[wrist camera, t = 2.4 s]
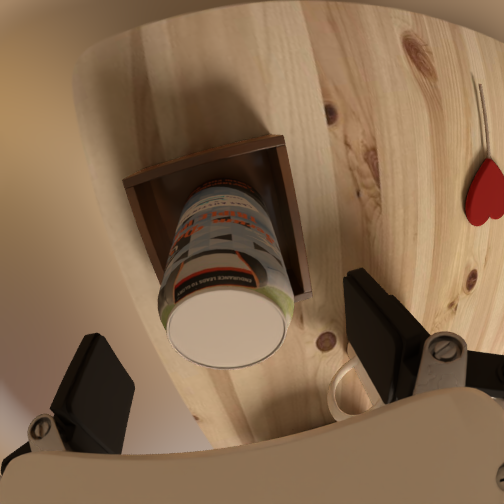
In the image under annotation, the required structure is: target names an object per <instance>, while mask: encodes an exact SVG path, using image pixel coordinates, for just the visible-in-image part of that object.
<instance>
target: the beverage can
mask: <svg viewBox="0 0 504 504" xmlns="http://www.w3.org/2000/svg"><path fill="white" fill-rule="evenodd" d="M293 311H294V295H293V291H292V288H291V285H290V281H289V278H288V275H287V272H286V268H285V265H284V262H283V258H282V255H281V252H280V249H279V246H278V242H277V239H276V236H275V233H274V230H273V226H272V223H271V220H270V217H269V214H268V211H267V208H266V205H265V202H264V200H263V198H262V197H261V195H260V194H259V193H258V192H257V191H256V190H255V189H254V188H253V187H252V186H250V185H249V184H247V183H245V182H243V181H240V180H237V179H231V178H218V179H213V180H210V181H207V182H205V183H203V184H201V185H200V186H198V187H197V188H196V189H194V190H193V191H192V192H191V194H190V195H189V196H188V198H187V199H186V201H185V203H184V206H183V209H182V213H181V216H180V219H179V222H178V226H177V229H176V232H175V236H174V239H173V243H172V246H171V250H170V253H169V257H168V261H167V264H166V268H165V272H164V275H163V279H162V283H161V287H160V291H159V295H158V312H159V316H160V320H161V322H162V324H163V326H164V328H165V330H166V333H167V337H168V340H169V342H170V344H171V346H172V347H173V348H174V350H175V351H176V352H177V353H178V354H179V355H181V356H182V357H183V358H185V359H186V360H188V361H190V362H192V363H194V364H196V365H199V366H202V367H206V368H211V369H218V370H235V369H242V368H246V367H250V366H253V365H256V364H258V363H261V362H262V361H264V360H266V359H268V358H269V357H271V356H272V355H273V354H274V353H275V352H276V351H277V350H278V349H279V348H280V347H281V345H282V344H283V342H284V340H285V337H286V333H287V328H288V326H289V324H290V321H291V319H292V316H293Z"/></svg>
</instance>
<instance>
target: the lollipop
mask: <svg viewBox="0 0 504 504" xmlns="http://www.w3.org/2000/svg"><path fill="white" fill-rule="evenodd" d="M479 90H480V95H481V101H482V108H483V115H484V123H485V132H486V143H487V158H486V159H485V161H484V162H483V164H482V165H481V167H480V168H479V170H478V172H477V173H476V175H475V177H474V179H473V181H472V184H471V186H470V189H469V192H468V195H467V199H466V216H467V219H468V221H469V222H470V223H471V224H472V225H474V226H481V225H483V224H484V223H485V222H486V221H487V220H488V218H489V217H490V218H492V219H499V218H501V217H502V216H503V214H504V175H503V174H502V172H501V170H500V169H499V167H498V166H497V165H496V164H495V162H494V161H493V160H492V159H491V158H490V145H489V133H488V123H487V115H486V108H485V101H484V95H483V90H482V84H479Z"/></svg>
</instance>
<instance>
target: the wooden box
mask: <svg viewBox="0 0 504 504" xmlns="http://www.w3.org/2000/svg"><path fill="white" fill-rule="evenodd" d="M218 178H231V179H237V180H240V181H243V182H245V183H247V184H249V185H250V186H252V187H253V188H254V189H255V190H256V191H257V192H258V193H259V194H260V195H261V197H262V198H263V200H264V202H265V205H266V208H267V211H268V214H269V217H270V220H271V223H272V226H273V230H274V233H275V236H276V239H277V242H278V246H279V249H280V252H281V255H282V258H283V262H284V265H285V268H286V272H287V275H288V278H289V281H290V285H291V288H292V291H293V295H294V303H295V302H298V301H302V300H306V299H309V298H312V297H313V295H312V288H311V281H310V275H309V268H308V262H307V256H306V250H305V244H304V238H303V232H302V226H301V221H300V215H299V210H298V204H297V199H296V194H295V189H294V184H293V179H292V174H291V169H290V164H289V159H288V154H287V150H286V146H285V140H284V136H283V135H272V134H270V135H265V136H261V137H256V138H252V139H247V140H243V141H239V142H235V143H231V144H227V145H223V146H219V147H215V148H211V149H207V150H204V151H200V152H197V153H193V154H190V155H186V156H183V157H180V158H176V159H173V160H170V161H167V162H163V163H160V164H157V165H154V166H151V167H148V168H145V169H142V170H140V171H138V172H136V173H134V174H132V175H130V176H128V177H126V178H125V179H123V180H122V181H123V185H124V188H125V191H126V194H127V197H128V200H129V203H130V206H131V209H132V212H133V214H134V217H135V220H136V223H137V226H138V229H139V231H140V234H141V237H142V239H143V242H144V245H145V247H146V250H147V253H148V255H149V258H150V260H151V263H152V265H153V268H154V270H155V273H156V275H157V278H158V280H159V282H160V285H161V283H162V279H163V275H164V272H165V268H166V264H167V261H168V257H169V253H170V250H171V246H172V243H173V239H174V236H175V232H176V229H177V226H178V222H179V219H180V216H181V213H182V209H183V206H184V203H185V201H186V199H187V198H188V196H189V195H190V194H191V192H192V191H193V190H194V189H196V188H197V187H198V186H200V185H201V184H203V183H205V182H207V181H210V180H213V179H218Z"/></svg>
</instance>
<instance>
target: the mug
mask: <svg viewBox="0 0 504 504" xmlns="http://www.w3.org/2000/svg"><path fill="white" fill-rule="evenodd" d="M347 353H348V357H349V359H350V360H349V361H348V362H346V363H345V364H344V365H343V366H342V367H341V368H340V369H339V370H338V371H337V373H336V374H335V375H334V376H333V379H332V381H331V383H330V385H329V389H328V395H327V401H328V407H329V410H330V413H331V414H332V416H333V417H334V419H335V420H337V421H342V420H345V419H348V418H351V417H354V416H357V415H349V414H346V413H344V412H343V411H342V410H340V408H339V407H338V405H337V402H336V399H335V389H336V386H337V384H338V382H339V381H340V379H341V378H342V377H343V376H344V375H345V374H346V373H347V372H348V371H349V370H350V369H351V368H353V367H354V369H355V371H356V373H357V375H358V377H359V379H360V381H361V383H362V385H363V387H364V389H365V391H366V393H367V395H368V397H369V399H370V401H371V403H372V405H373V406H372V407H371V408H370V409H368V410H367V411H365V412H368V411H371V410H373V409H376V408H379V407H382V406H384V405H385V404H384V403H383V401H382V399H381V397H380V396H379V394H378V392H377V390H376V388H375V387H374V385H373V383H372V381H371V379H370V378H369V376H368V374H367V372H366V370H365V369H364V367H363V365H362V363H361V362H360V360H359V358H358V356H357V355H356V353H355V351H354V349H353V348H352V346H351V344H350V342H348V349H347ZM365 412H364V413H365ZM358 415H360V414H358Z"/></svg>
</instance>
